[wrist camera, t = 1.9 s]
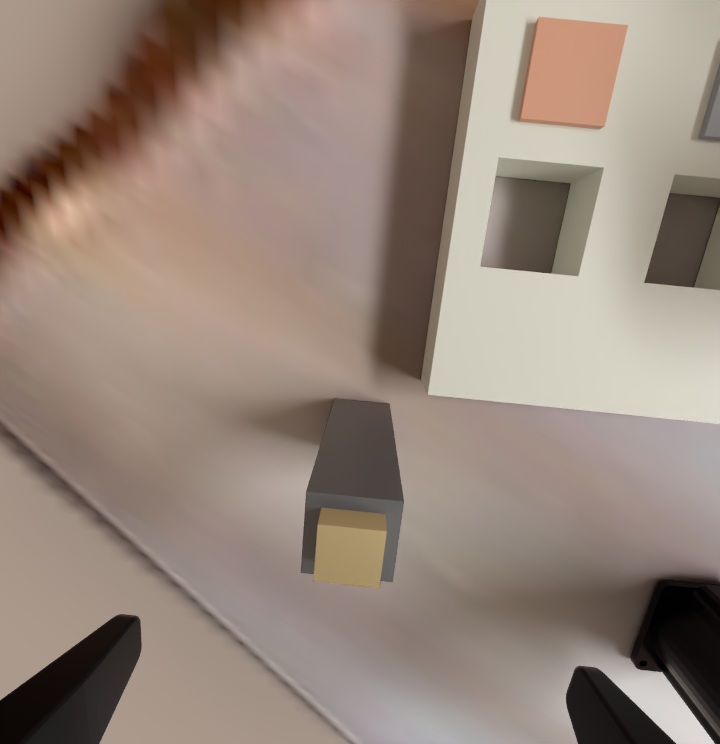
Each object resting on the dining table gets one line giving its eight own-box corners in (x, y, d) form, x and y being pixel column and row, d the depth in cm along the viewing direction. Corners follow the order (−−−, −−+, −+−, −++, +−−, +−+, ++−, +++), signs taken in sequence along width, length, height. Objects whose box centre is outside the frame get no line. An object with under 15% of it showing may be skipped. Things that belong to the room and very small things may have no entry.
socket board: (683, 406, 19) (733, 427, 17) (420, 380, 19) (428, 396, 17) (802, 49, 15) (895, 0, 13) (472, 18, 15) (493, -37, 13)
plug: (383, 453, 21) (394, 603, 11) (330, 448, 21) (296, 593, 11) (389, 403, 20) (406, 518, 10) (334, 398, 20) (301, 507, 10)
